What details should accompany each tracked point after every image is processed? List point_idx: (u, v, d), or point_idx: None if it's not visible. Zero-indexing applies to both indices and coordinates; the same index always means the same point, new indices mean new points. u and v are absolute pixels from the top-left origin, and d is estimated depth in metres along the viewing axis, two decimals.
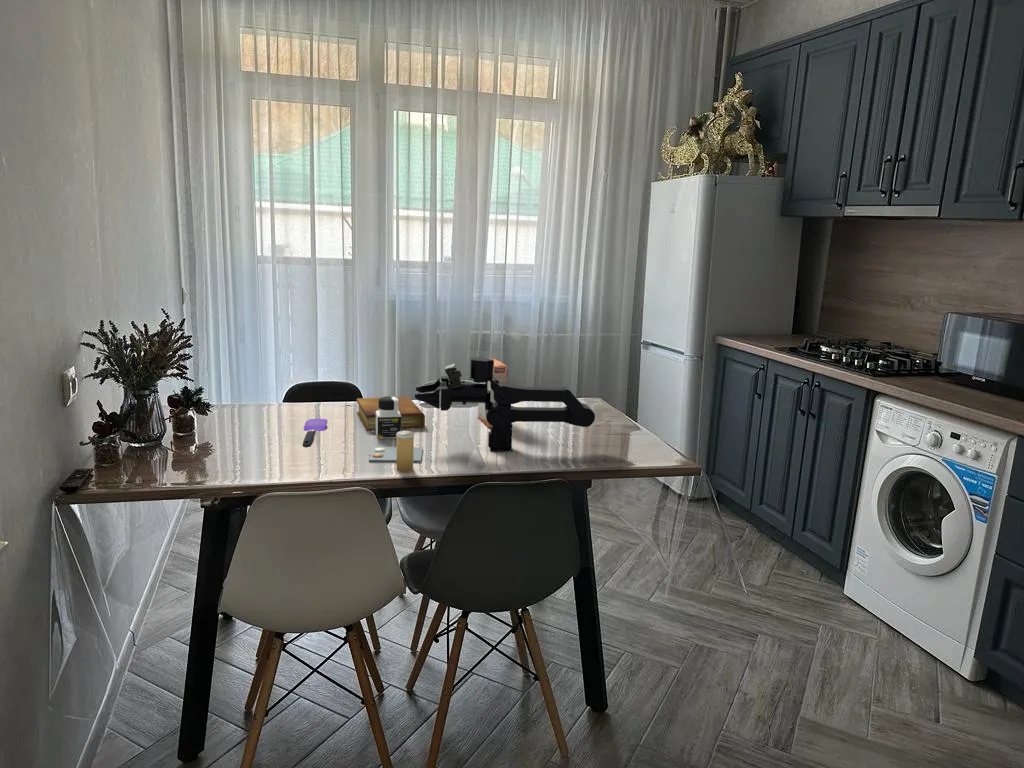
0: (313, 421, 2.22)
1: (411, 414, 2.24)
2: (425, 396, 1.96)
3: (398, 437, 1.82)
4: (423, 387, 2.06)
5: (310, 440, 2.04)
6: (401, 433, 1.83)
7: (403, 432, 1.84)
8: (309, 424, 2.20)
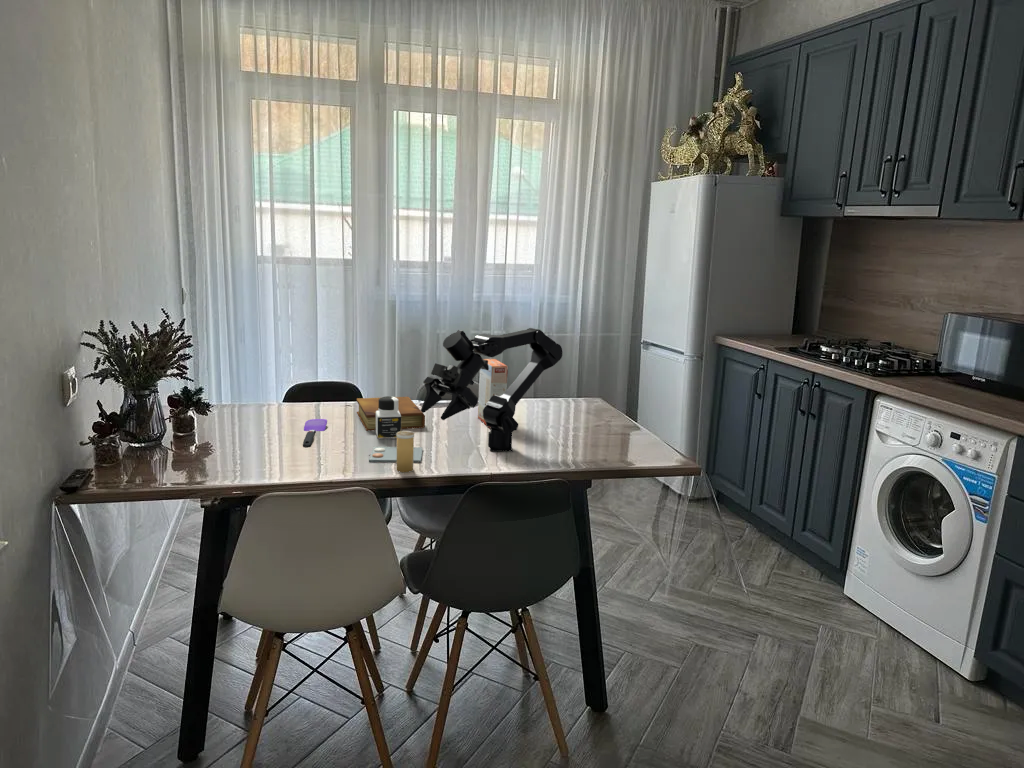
0: (313, 421, 2.22)
1: (411, 414, 2.24)
2: (450, 410, 1.85)
3: (398, 437, 1.82)
4: (425, 404, 1.92)
5: (310, 440, 2.04)
6: (401, 433, 1.83)
7: (403, 432, 1.84)
8: (309, 425, 2.20)
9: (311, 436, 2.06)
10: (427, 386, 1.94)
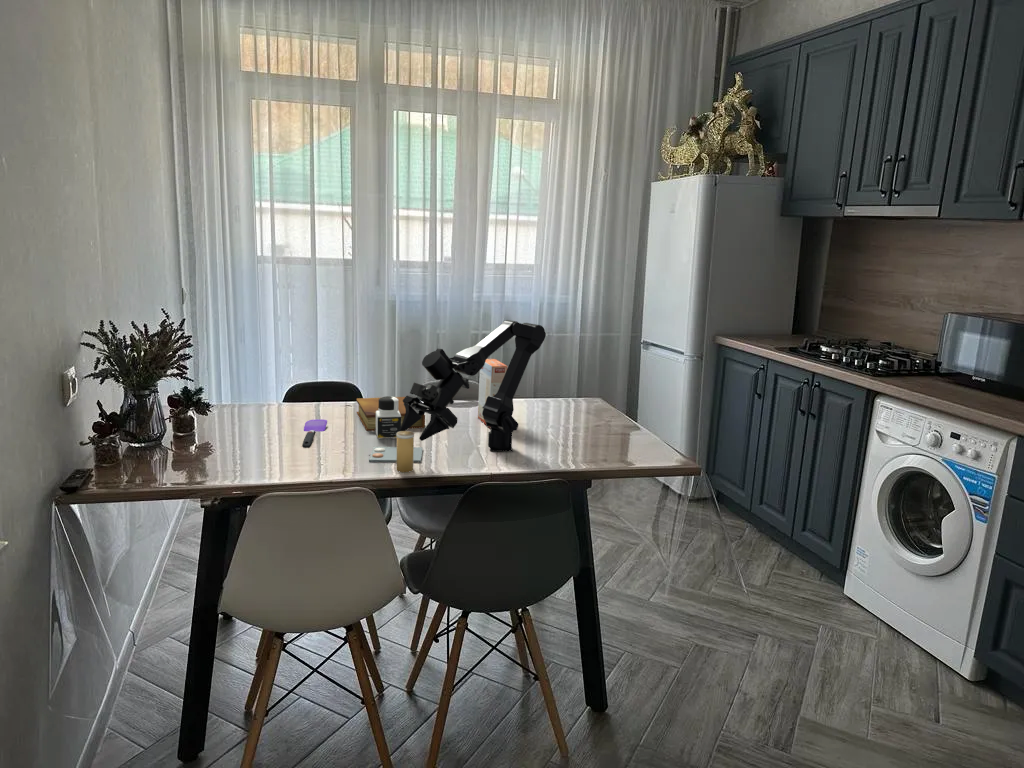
0: (313, 422, 2.22)
1: None
2: (429, 431, 1.82)
3: (398, 437, 1.82)
4: (404, 424, 1.88)
5: (310, 441, 2.03)
6: (401, 433, 1.83)
7: (403, 432, 1.84)
8: (309, 425, 2.20)
9: (311, 436, 2.06)
10: (406, 405, 1.90)
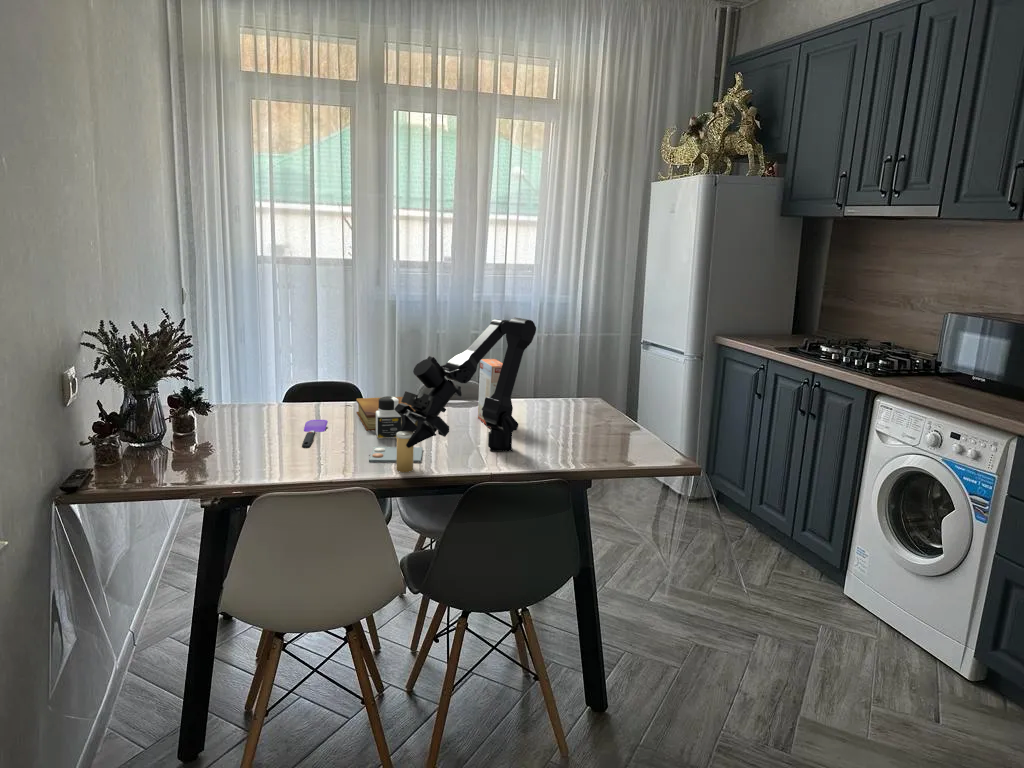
0: (313, 422, 2.21)
1: None
2: (416, 438, 1.82)
3: (398, 437, 1.82)
4: None
5: (309, 441, 2.03)
6: (401, 433, 1.83)
7: (403, 432, 1.84)
8: (309, 425, 2.19)
9: (310, 437, 2.05)
10: (402, 415, 1.87)
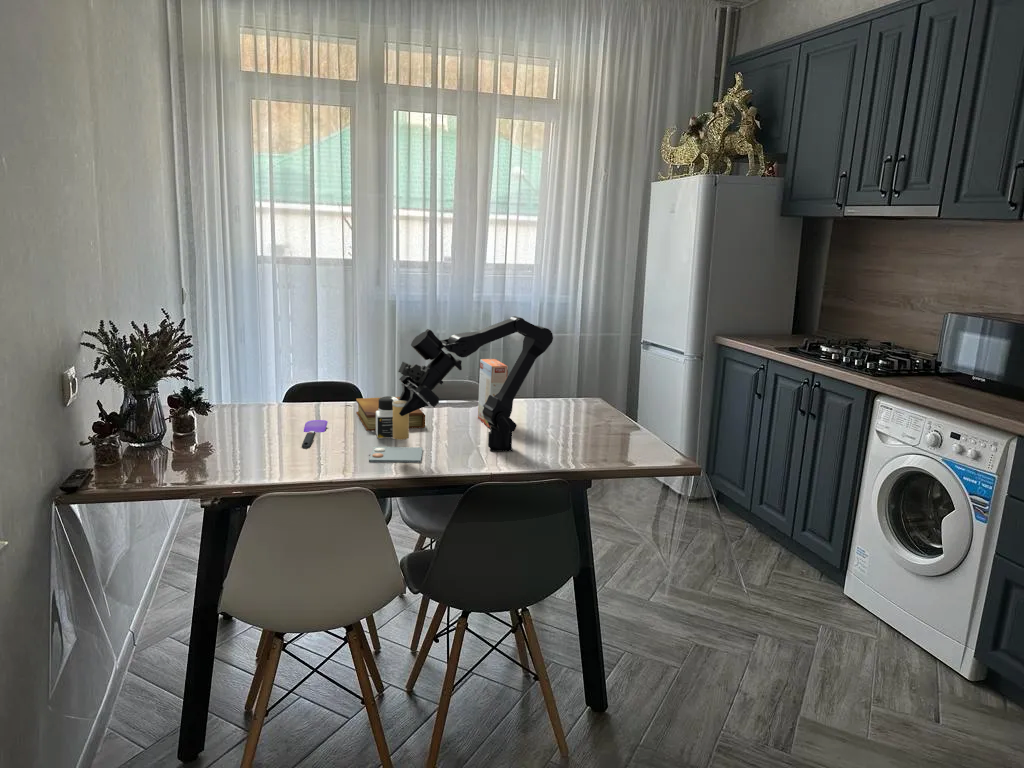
0: (313, 422, 2.21)
1: (411, 414, 2.24)
2: (408, 407, 1.89)
3: (393, 405, 1.90)
4: None
5: (309, 442, 2.02)
6: (396, 402, 1.91)
7: (399, 401, 1.92)
8: (309, 426, 2.19)
9: (310, 437, 2.05)
10: (402, 385, 1.95)
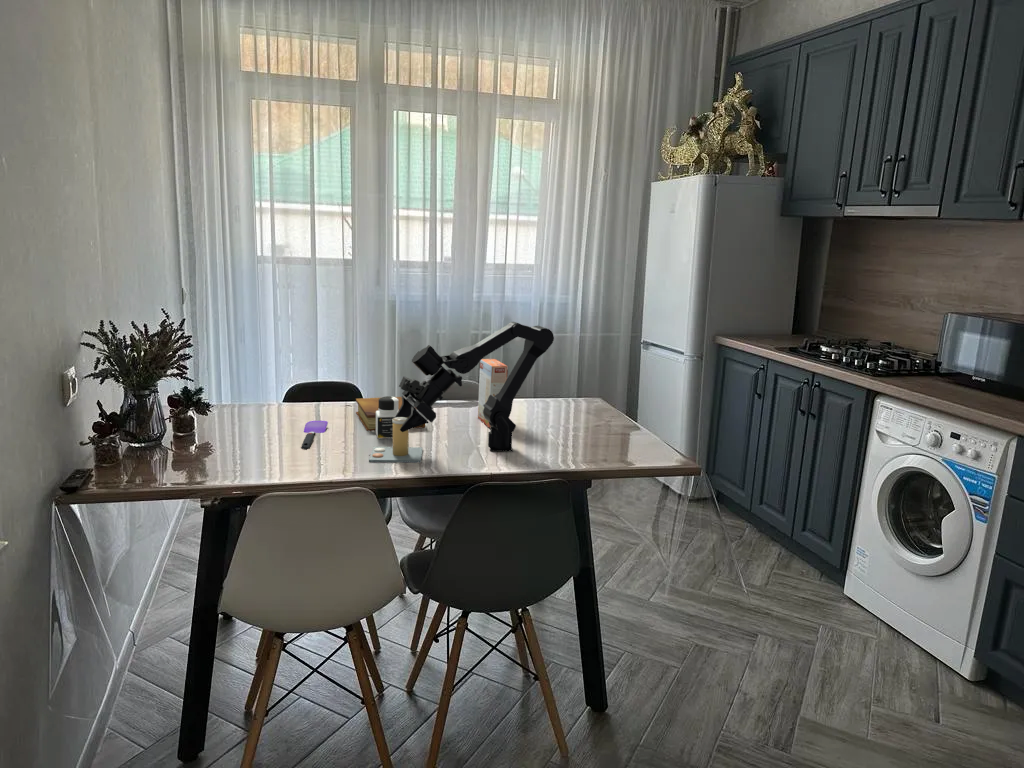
0: (313, 423, 2.20)
1: None
2: (409, 423, 1.90)
3: None
4: (398, 415, 1.99)
5: (309, 442, 2.02)
6: (396, 419, 1.95)
7: (399, 418, 1.96)
8: (309, 426, 2.18)
9: (310, 438, 2.04)
10: (402, 398, 2.00)
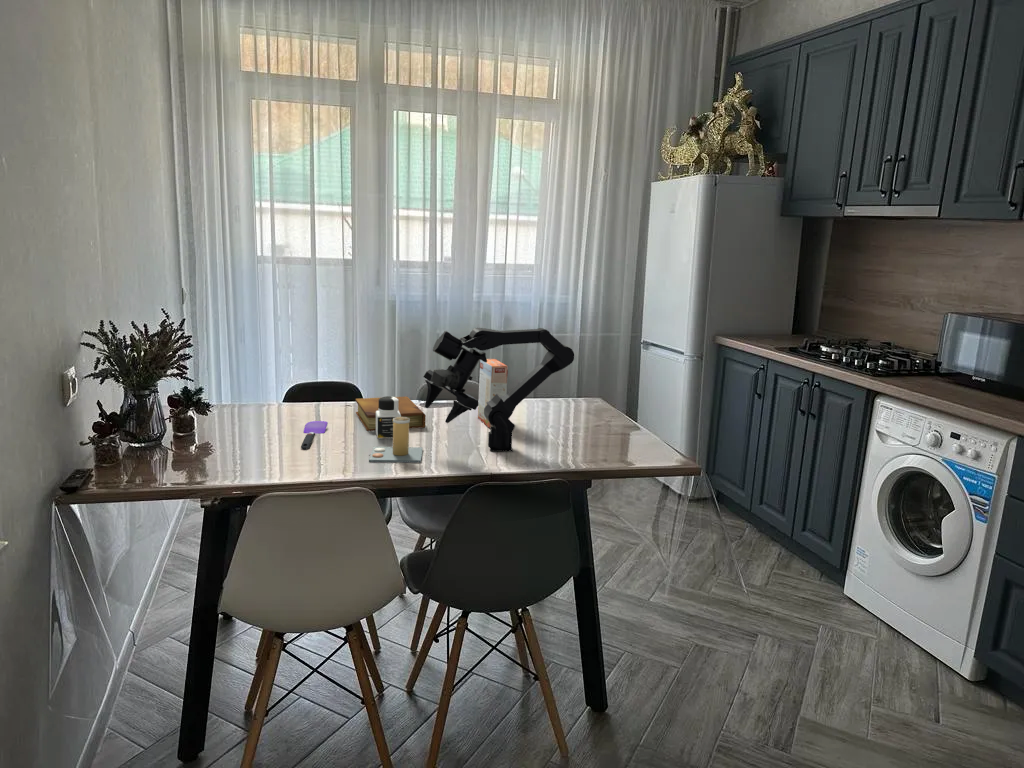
0: (313, 423, 2.19)
1: (412, 414, 2.24)
2: (453, 415, 1.97)
3: (393, 422, 1.94)
4: (428, 401, 2.02)
5: (309, 443, 2.01)
6: (397, 418, 1.95)
7: (400, 418, 1.96)
8: (309, 427, 2.18)
9: (310, 439, 2.04)
10: (428, 383, 2.01)
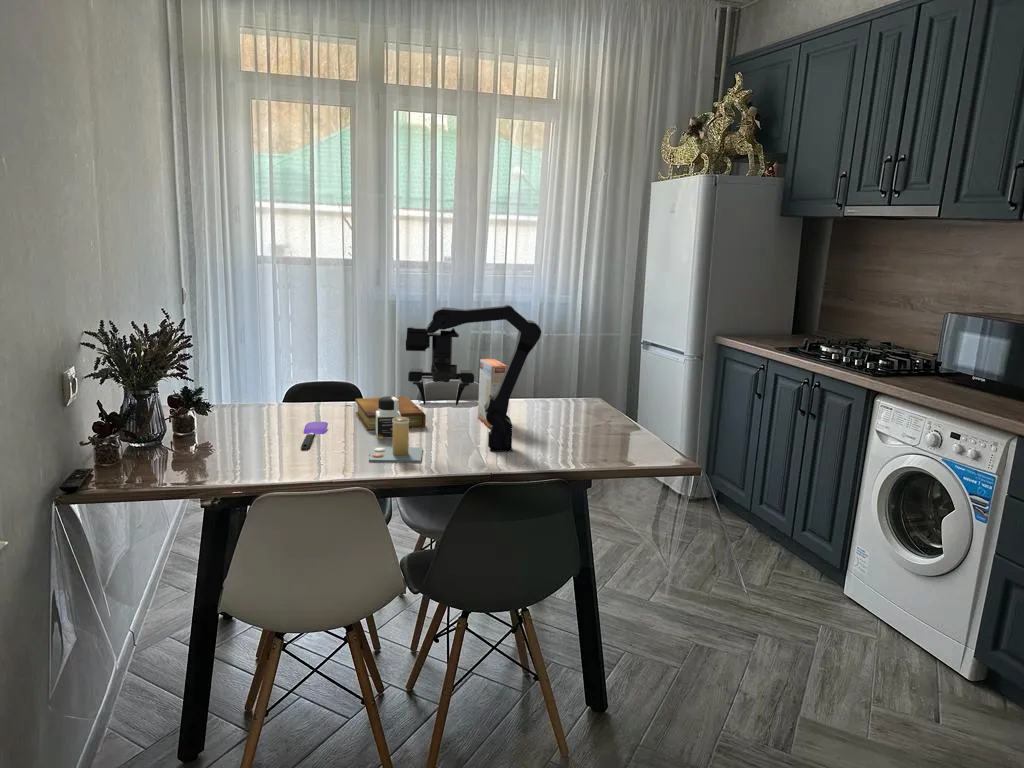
0: (313, 424, 2.19)
1: (412, 414, 2.24)
2: (460, 395, 2.03)
3: (393, 422, 1.94)
4: (425, 398, 2.02)
5: (308, 444, 2.00)
6: (396, 419, 1.94)
7: (399, 418, 1.95)
8: (309, 427, 2.17)
9: (310, 439, 2.03)
10: (419, 384, 1.99)
